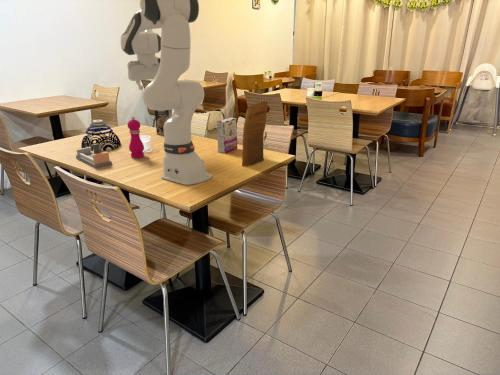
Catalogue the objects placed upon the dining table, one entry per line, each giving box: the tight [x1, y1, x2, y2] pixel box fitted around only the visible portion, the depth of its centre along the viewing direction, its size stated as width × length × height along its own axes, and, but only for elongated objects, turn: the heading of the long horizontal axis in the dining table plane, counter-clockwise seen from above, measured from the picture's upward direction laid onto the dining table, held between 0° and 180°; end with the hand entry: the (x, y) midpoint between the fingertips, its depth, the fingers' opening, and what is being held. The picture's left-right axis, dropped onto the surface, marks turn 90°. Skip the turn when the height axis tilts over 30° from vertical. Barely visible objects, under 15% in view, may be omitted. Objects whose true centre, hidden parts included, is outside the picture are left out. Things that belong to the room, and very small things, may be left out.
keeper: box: [92, 142, 102, 158], centre depth 177 cm, size 5×4×8 cm
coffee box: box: [154, 109, 173, 136], centre depth 233 cm, size 9×6×16 cm
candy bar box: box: [216, 117, 238, 154], centre depth 197 cm, size 11×5×16 cm, turn 146°
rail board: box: [75, 146, 113, 169], centre depth 182 cm, size 22×8×6 cm, turn 45°
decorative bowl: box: [81, 119, 122, 152], centre depth 206 cm, size 20×20×14 cm
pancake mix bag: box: [241, 100, 269, 167], centre depth 175 cm, size 7×19×28 cm, turn 143°
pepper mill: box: [127, 116, 145, 159], centre depth 187 cm, size 7×7×20 cm
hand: (149, 88), depth 194 cm, fingers open, 8 cm apart
